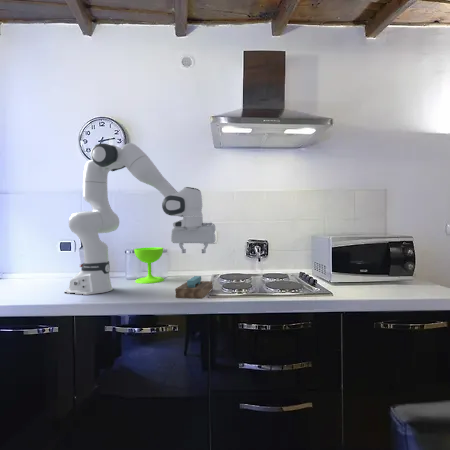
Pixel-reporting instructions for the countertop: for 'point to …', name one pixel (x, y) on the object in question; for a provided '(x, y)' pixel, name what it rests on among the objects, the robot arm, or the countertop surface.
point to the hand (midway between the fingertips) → (193, 253)
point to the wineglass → (149, 262)
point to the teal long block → (193, 281)
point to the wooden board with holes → (194, 290)
